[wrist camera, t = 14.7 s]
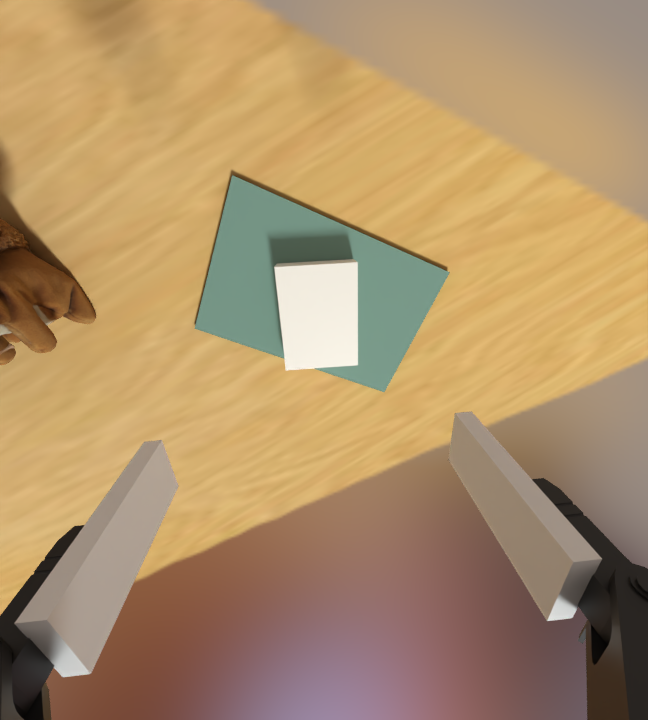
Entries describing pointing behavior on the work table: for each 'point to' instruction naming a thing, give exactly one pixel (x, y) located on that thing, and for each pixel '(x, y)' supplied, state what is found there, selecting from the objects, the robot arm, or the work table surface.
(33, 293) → the stuffed squirrel
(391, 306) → the mat
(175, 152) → the work table surface
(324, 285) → the card box
